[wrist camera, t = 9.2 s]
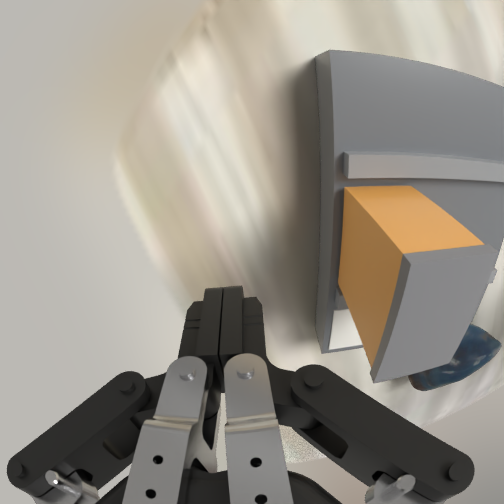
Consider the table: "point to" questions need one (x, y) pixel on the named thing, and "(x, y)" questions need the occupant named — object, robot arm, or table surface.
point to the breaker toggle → (408, 278)
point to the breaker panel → (403, 156)
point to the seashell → (460, 361)
